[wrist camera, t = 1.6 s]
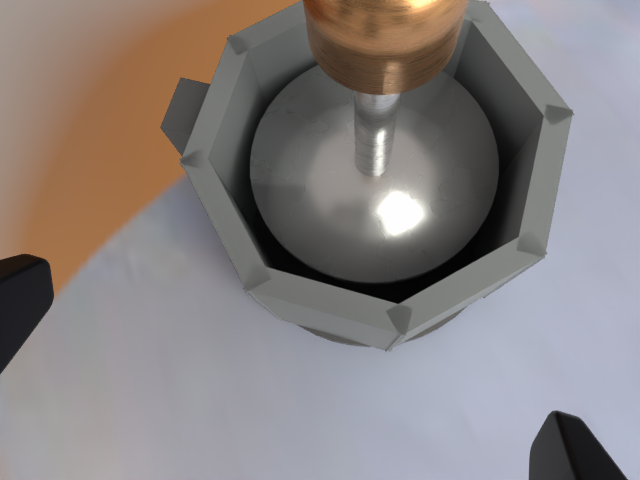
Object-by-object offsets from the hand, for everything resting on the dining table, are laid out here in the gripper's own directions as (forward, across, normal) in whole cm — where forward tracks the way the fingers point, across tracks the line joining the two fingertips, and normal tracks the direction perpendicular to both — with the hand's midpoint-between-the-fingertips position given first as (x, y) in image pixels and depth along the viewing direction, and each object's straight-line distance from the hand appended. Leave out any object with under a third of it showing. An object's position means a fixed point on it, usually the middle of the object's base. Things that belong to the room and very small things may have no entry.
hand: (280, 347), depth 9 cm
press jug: (+15, 0, +5) cm, 15 cm away
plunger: (+11, 0, +1) cm, 11 cm away
